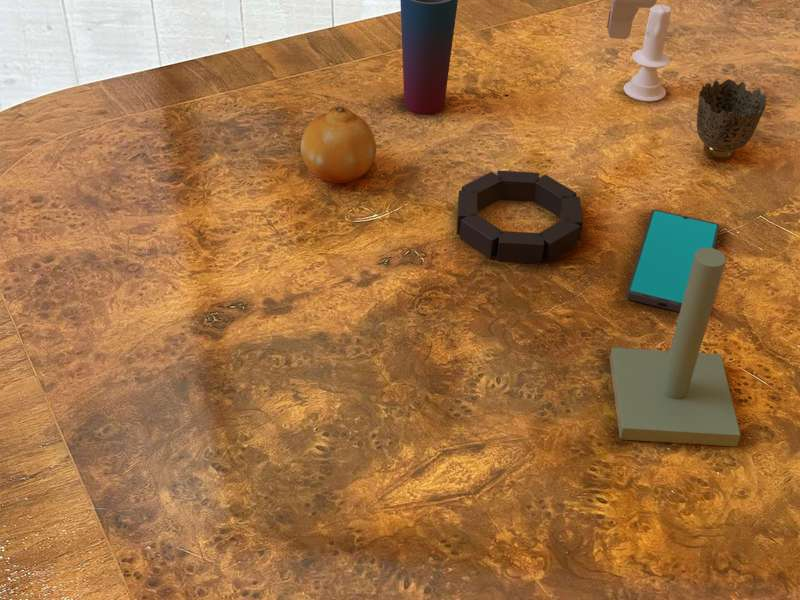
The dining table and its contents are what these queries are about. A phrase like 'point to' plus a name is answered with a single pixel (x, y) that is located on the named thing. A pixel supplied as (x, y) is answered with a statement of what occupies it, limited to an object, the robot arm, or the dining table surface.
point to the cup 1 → (426, 52)
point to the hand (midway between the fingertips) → (612, 9)
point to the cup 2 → (727, 117)
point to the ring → (519, 243)
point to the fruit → (338, 146)
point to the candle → (651, 58)
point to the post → (678, 375)
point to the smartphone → (668, 258)
